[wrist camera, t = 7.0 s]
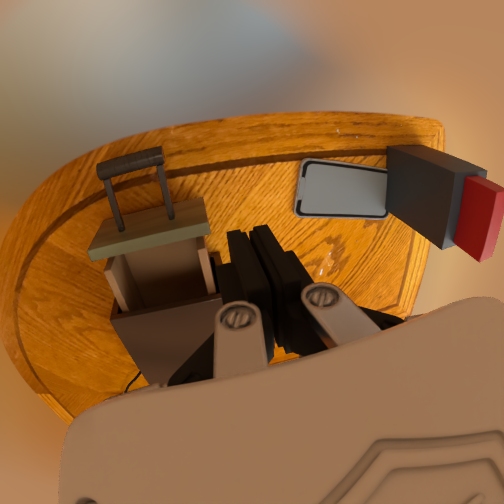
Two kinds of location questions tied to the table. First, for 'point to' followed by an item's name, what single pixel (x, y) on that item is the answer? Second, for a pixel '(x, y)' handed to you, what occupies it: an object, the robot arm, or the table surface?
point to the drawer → (153, 243)
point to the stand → (427, 190)
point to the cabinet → (167, 331)
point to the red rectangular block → (479, 217)
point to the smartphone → (340, 190)
